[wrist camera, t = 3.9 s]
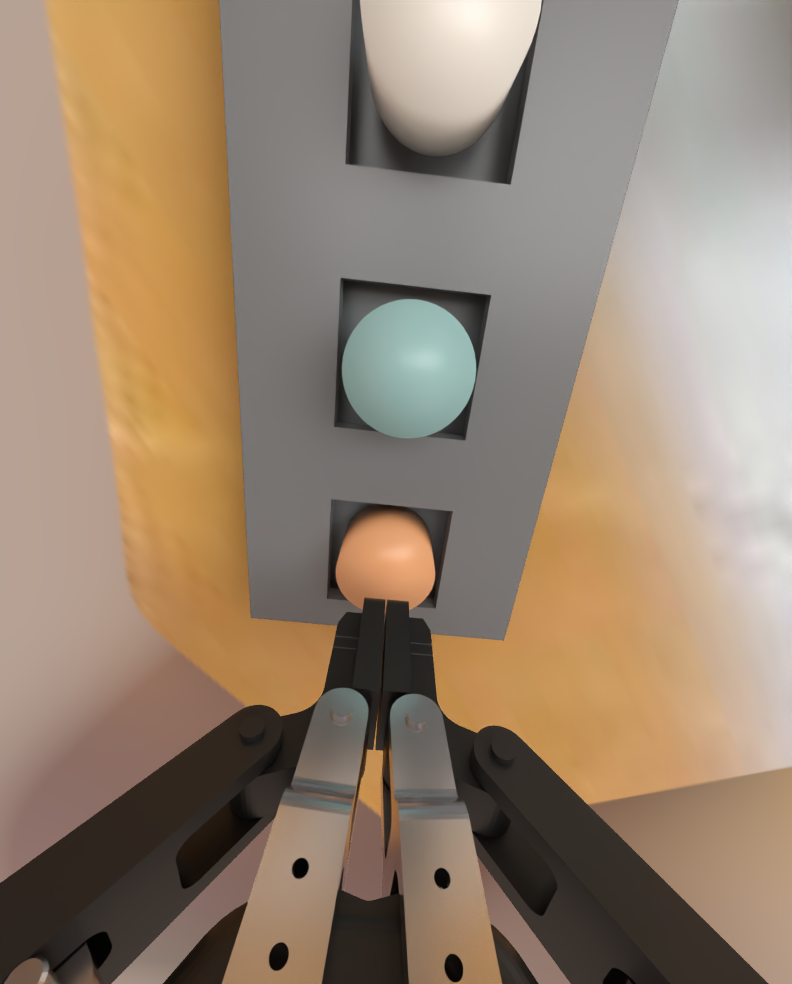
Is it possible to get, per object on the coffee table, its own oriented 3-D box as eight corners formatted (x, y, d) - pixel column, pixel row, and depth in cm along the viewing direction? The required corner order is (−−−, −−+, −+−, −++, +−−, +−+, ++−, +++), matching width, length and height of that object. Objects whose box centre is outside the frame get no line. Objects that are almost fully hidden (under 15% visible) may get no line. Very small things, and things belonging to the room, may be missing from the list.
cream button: (374, -46, 10) (366, -159, 8) (527, -26, 10) (565, -129, 8) (363, 148, 12) (354, 104, 9) (496, 164, 12) (520, 125, 10)
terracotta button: (346, 498, 18) (337, 526, 15) (436, 507, 18) (442, 536, 15) (341, 574, 19) (333, 610, 17) (424, 581, 19) (428, 618, 17)
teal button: (355, 296, 13) (345, 291, 11) (472, 309, 14) (488, 307, 11) (348, 414, 15) (338, 431, 13) (453, 425, 15) (463, 444, 13)
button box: (253, -82, 12) (208, -203, 9) (643, -28, 12) (713, -128, 10) (270, 579, 21) (250, 617, 19) (490, 599, 22) (503, 640, 19)
